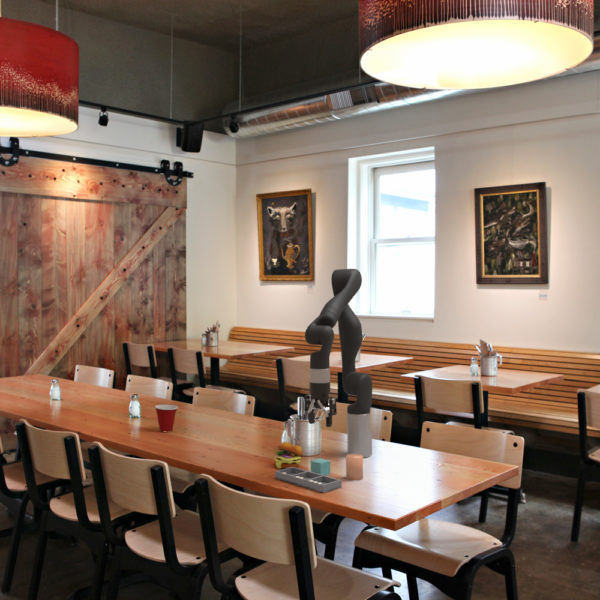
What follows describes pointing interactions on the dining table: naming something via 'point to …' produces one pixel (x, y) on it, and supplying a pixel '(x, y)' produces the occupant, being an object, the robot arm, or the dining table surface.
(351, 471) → the terracotta jar
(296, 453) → the cheeseburger
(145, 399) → the dining table surface
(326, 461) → the teal block
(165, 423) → the plastic cup
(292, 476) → the slot tray
